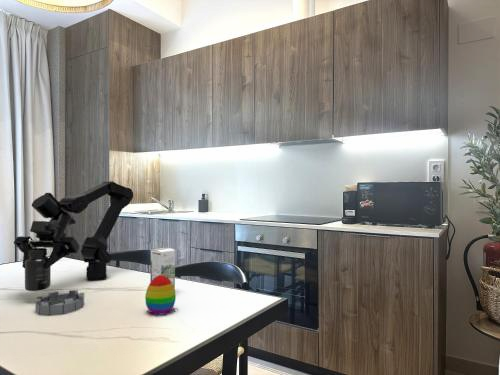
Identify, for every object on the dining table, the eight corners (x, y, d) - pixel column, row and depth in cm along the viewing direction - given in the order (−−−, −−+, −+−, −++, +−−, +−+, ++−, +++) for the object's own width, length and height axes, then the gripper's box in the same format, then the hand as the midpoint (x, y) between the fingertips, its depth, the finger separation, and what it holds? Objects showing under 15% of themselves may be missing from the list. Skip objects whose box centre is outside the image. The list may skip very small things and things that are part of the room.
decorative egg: (181, 311, 97) (181, 275, 97) (153, 318, 92) (153, 280, 92) (166, 304, 103) (166, 270, 103) (140, 310, 98) (140, 275, 98)
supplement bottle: (19, 289, 106) (19, 250, 106) (42, 284, 112) (42, 246, 112) (33, 292, 103) (33, 251, 103) (55, 286, 109) (55, 248, 109)
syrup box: (164, 289, 118) (164, 247, 119) (175, 293, 115) (175, 248, 115) (149, 293, 114) (150, 249, 114) (161, 297, 110) (161, 251, 110)
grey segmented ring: (86, 299, 108) (86, 288, 108) (80, 312, 97) (80, 299, 97) (41, 303, 104) (41, 291, 104) (31, 317, 93) (31, 304, 93)
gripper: (17, 211, 112) (-10, 252, 101) (74, 211, 111) (53, 252, 100) (34, 232, 120) (10, 272, 109) (87, 232, 119) (68, 273, 108)
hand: (34, 267), depth 106 cm, fingers closed on supplement bottle, 7 cm apart
